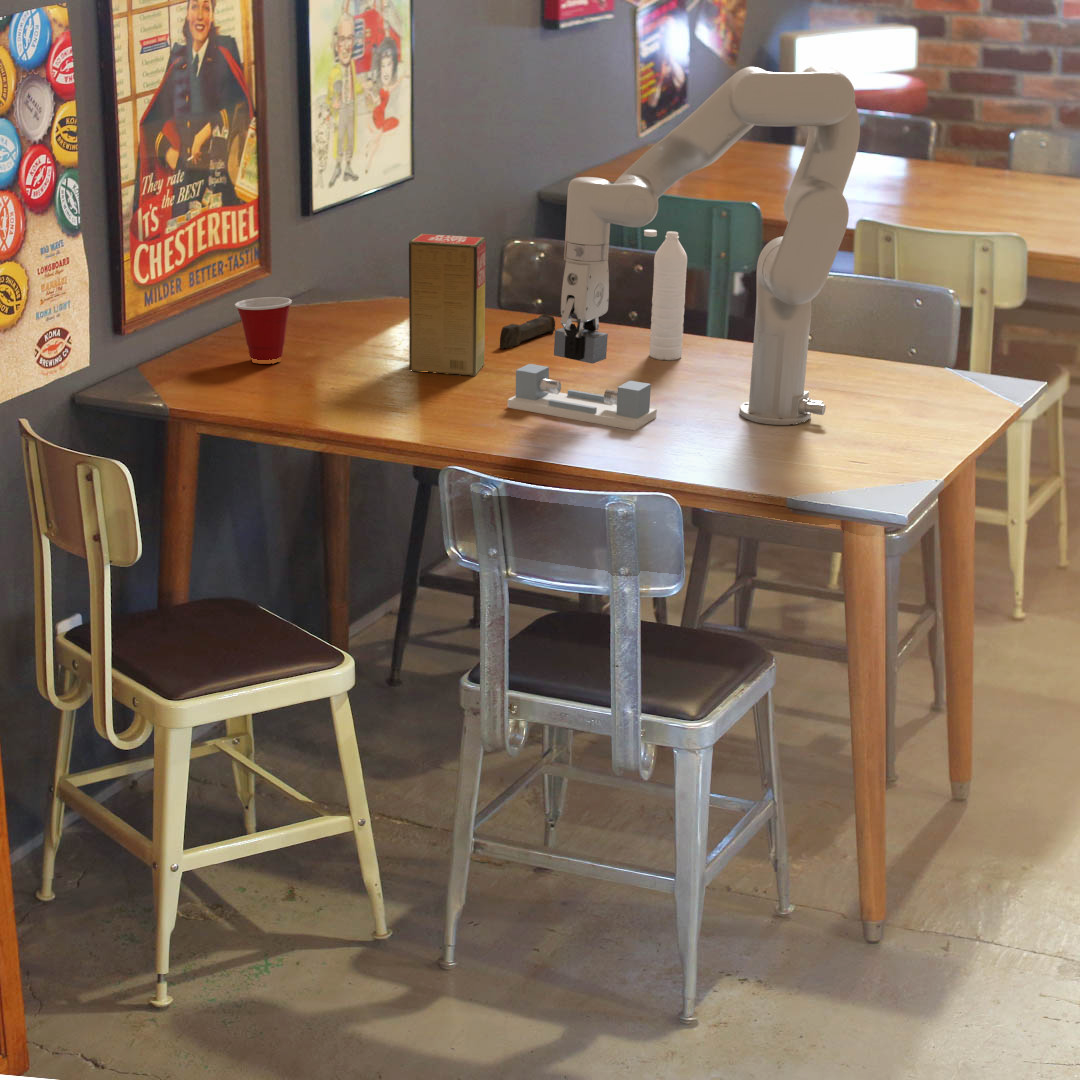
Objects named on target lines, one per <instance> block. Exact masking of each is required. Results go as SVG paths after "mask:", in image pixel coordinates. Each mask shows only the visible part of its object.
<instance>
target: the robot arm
mask: <svg viewBox="0 0 1080 1080" xmlns="http://www.w3.org/2000/svg"><path fill="white" fill-rule="evenodd" d="M855 101H856V91H855V87H854V84H852V82H851V80H850V79H849V78H848V77H847V76H846V75H845V74H843V73H841V72H839V71H837V70H836V69H834V68H832V67H829V66H826V65H821V64H817V65H816V64H815V65H813V66H810V67H807V68H805V69H804V70H803V71H802V72H780V71H779V72H777V71H776V72H775V71H774V72H773V71H767V70H766V69H763V68H760V67H757V66H756V67H755V66H747V67H744V68H741V69H740V70H737V71H736V72H735V73H734V74H732V76H730V78H728V79H727V80H726V81H724V83H723V84H721V85H720V86H719V88H717V89H716V90H715V91H714V92H713V93H712V94H711V95H710V96H709V97H708V98H707V99H706V100H705V101H704V102H703V103H702V104H701V105H700V106H698V107H697V108H696V109H695V110H694V111H693V112H692V113H691V114H690V115H688V116H687V117H686V118H685V119H684V120H683V121H682V122H681V123H680V124H679V125H677V126H676V127H675V128H673V129H672V130H670V132H668V133H667V134H666V135H665V136H664V137H662V138H661V139H660V140H659V141H658V142H656V143H655V144H654V145H652V146H651V147H650V148H649V149H648V150H647V151H645V152H644V153H643V154H642V155H641V156H640V157H639V158H638V159H637V160H636V161H635V162H634V163H632V165H630V166H629V167H628V168H627V169H626V170H625V171H624V172H622V174H621V175H620V176H619V177H618V178H617V179H616V180H615V182H614V183H611V182H610V181H609V180H607V179H605V178H602V177H601V178H600V177H595V176H594V177H593V176H581V177H580V176H578V177H575V178H573V179H571V180H570V182H569V183H568V186H567V198H566V199H567V200H566V201H567V202H566V217H565V218H566V220H565V238H564V240H565V241H564V252H563V253H564V254H563V257H564V258H563V260H564V261H565V265H564V270H563V277H562V287H561V294H560V296H561V298H560V315H561V318H560V324H561V326H562V328H563V327H564V330H565V332H564V335H565V353H564V356H565V359H568V358H569V360H573V359H574V360H573V361H578V360H581V359H582V351H583V337H581V334H582V328H583V329H588V330H592V331H597V332H599V331H598V330H599V327H600V323H599V322H600V320H601V317H602V316H603V315H605V314H606V313H607V312H608V311H609V301H610V300H609V299H610V298H609V297H610V295H609V294H610V282H609V281H610V274H609V273H610V272H609V252H610V251H609V248H610V234H611V231H610V230H611V224H613V225H619V226H623V227H628V228H641V227H644V226H646V225H649V224H650V223H651V222H652V221H653V220H654V219H655V217H656V216H657V214H658V212H659V198H661V197H662V196H663V195H664V194H665V193H666V192H667V191H668V190H670V188H672V187H673V186H674V185H675V184H676V183H677V182H679V181H680V180H682V179H683V178H684V177H686V176H687V175H689V174H691V173H694V172H696V171H698V170H702V169H704V168H706V167H708V166H710V165H712V164H714V163H715V162H716V161H717V160H718V159H720V158H721V157H722V156H723V155H724V154H725V153H726V152H727V151H728V150H730V148H731V147H732V146H733V145H735V144H736V143H737V142H738V141H739V140H740V139H741V138H742V137H743V136H744V135H745V134H747V133H748V132H749V131H750V130H751V129H752V128H753V127H755V126H758V127H759V126H760V127H807V128H808V133H807V139H806V143H805V146H804V150H803V151H802V155H801V159H800V161H799V164H798V166H797V169H796V172H795V174H794V176H793V179H792V182H791V185H790V187H789V188H788V189H789V190H787V191H788V192H787V193H786V196H785V199H784V201H783V214H784V217H785V219H786V221H787V225H786V228H785V231H784V232H783V236H779V237H778V236H777V237H776V238H773V239H771V240H770V241H769V242H767V243H766V244H765V246H764V247H763V248H762V250H761V251H760V254H759V256H758V259H757V263H756V305H755V306H756V307H755V319H754V321H755V322H754V334H753V345H752V347H753V348H752V360H751V372H750V387H749V395H748V397H749V399H748V401H745V402H743V403H741V404H740V405H739V414H740V416H741V417H743V418H744V419H746V420H748V421H751V422H754V423H759V424H766V425H773V426H791V425H790V424H793V425H797V424H796V423H799V424H801V423H800V422H803V423H805V422H804V421H806V420H808V419H809V418H810V419H811V416H812V414H813V415H817V416H818V415H819V416H824V415H825V413H826V407H827V406H826V404H824V401H822V400H813V399H811V398H810V396H809V395H810V391H809V390H805V383H806V374H807V373H806V372H807V363H808V362H807V360H808V350H809V342H810V341H809V339H810V331H811V322H812V321H811V319H812V300H813V299H814V298H816V297H817V296H818V295H819V294H820V292H821V290H822V288H823V287H824V286H825V284H826V281H827V279H828V277H829V274H830V272H831V269H832V266H833V264H834V263H835V262H834V261H835V259H836V257H837V254H838V251H839V249H840V246H841V244H842V242H843V239H844V236H845V234H846V230H847V227H848V223H849V217H850V216H849V215H850V213H849V211H850V210H849V206H848V201H847V199H846V198H845V196H844V194H843V193H844V190H845V188H846V185H847V182H848V179H849V177H850V173H851V171H852V167H853V164H854V162H855V158H856V155H857V152H858V147H859V145H860V137H861V136H860V135H861V126H860V125H861V123H860V117H859V116H860V115H859V112H858V108H857V105H856V102H855ZM575 316H576V317H577V318H574V317H575ZM574 323H577V326H576V325H575V324H574ZM576 327H577V328H576ZM810 419H809V420H810ZM809 420H808V421H809ZM806 422H807V421H806Z"/></svg>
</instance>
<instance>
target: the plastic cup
mask: <svg viewBox="0 0 1080 1080" xmlns="http://www.w3.org/2000/svg"><path fill="white" fill-rule="evenodd" d="M292 302H293V300H292V299H290V298H288V297H277V296H269V297H266V296H265V297H255V298H249V299H243V300H239V301H237V302H236V303H234V307H235V308H236V309H237V311H238V313H239V317H240V319H241V323H242V327H243V332H244V336H245V340H246V344H247V345H246V346H247V348H248V353H249V358H250V357H251V358H253V359H257V360H269V359H270V360H272V359H277V358H279V357H281V356H282V357H283V355H284V346H285V341H286V333H287V326H288V318H289V312H290V308H291V304H293V303H292ZM251 358H250V359H251Z"/></svg>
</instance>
